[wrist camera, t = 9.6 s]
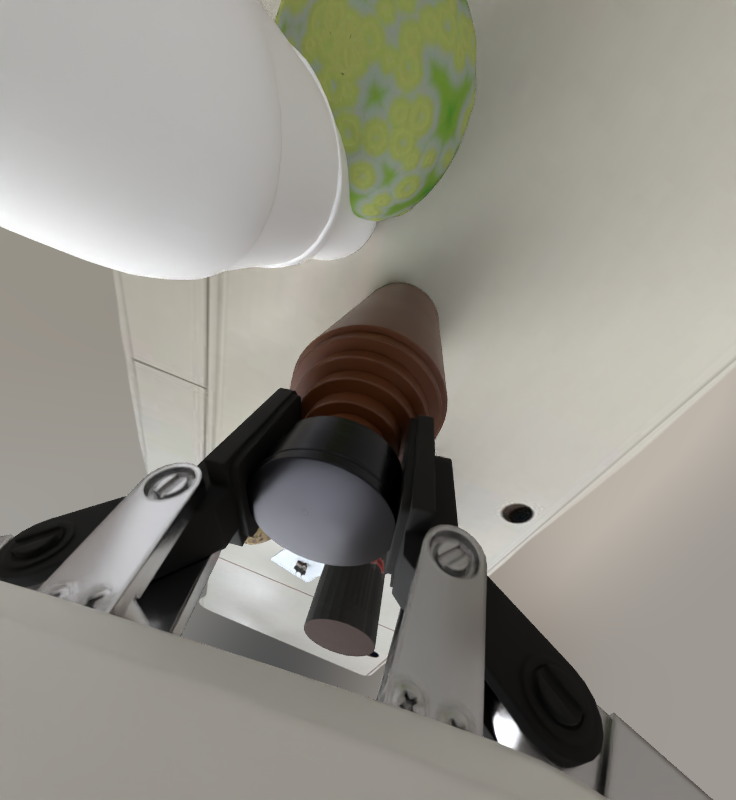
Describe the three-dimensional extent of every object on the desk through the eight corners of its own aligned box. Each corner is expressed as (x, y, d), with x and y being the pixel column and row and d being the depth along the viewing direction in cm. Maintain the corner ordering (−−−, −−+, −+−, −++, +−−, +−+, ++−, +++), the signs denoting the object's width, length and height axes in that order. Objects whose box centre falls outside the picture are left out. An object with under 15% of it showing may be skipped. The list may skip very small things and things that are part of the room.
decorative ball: (500, 95, 16) (575, -69, 8) (401, 253, 21) (381, 259, 13) (364, -27, 15) (277, -378, 7) (293, 171, 20) (192, 116, 12)
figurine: (291, 563, 47) (286, 574, 45) (299, 557, 46) (294, 569, 44) (302, 570, 47) (298, 581, 46) (310, 564, 46) (306, 576, 44)
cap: (280, 498, 10) (252, 544, 8) (274, 401, 8) (235, 439, 6) (391, 526, 9) (384, 581, 8) (416, 432, 7) (411, 481, 6)
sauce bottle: (362, 277, 23) (177, 362, 6) (447, 289, 22) (502, 424, 5) (356, 356, 26) (226, 547, 10) (429, 369, 26) (426, 601, 9)
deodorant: (373, 470, 33) (336, 613, 20) (405, 500, 34) (390, 652, 22) (340, 489, 36) (289, 625, 23) (371, 516, 37) (340, 659, 24)
